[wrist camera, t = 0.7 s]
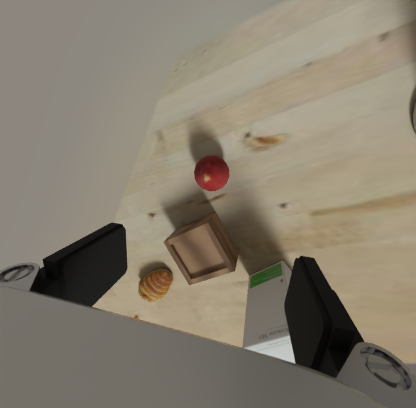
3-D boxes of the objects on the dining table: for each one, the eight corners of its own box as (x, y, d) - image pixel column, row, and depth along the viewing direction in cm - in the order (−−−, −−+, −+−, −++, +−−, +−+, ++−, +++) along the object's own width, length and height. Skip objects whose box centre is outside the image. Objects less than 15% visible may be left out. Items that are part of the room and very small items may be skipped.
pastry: (160, 259, 45) (151, 269, 42) (181, 278, 46) (174, 290, 42) (140, 279, 49) (131, 290, 45) (159, 297, 49) (152, 309, 46)
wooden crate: (215, 211, 38) (208, 222, 33) (238, 253, 39) (234, 270, 34) (176, 229, 42) (163, 242, 36) (198, 267, 43) (189, 285, 38)
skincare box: (283, 258, 37) (297, 331, 23) (302, 284, 38) (327, 371, 23) (247, 275, 40) (239, 348, 26) (265, 299, 41) (267, 383, 27)
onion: (195, 171, 37) (178, 177, 29) (215, 147, 34) (202, 148, 27) (217, 192, 37) (206, 204, 29) (238, 170, 35) (232, 177, 27)
